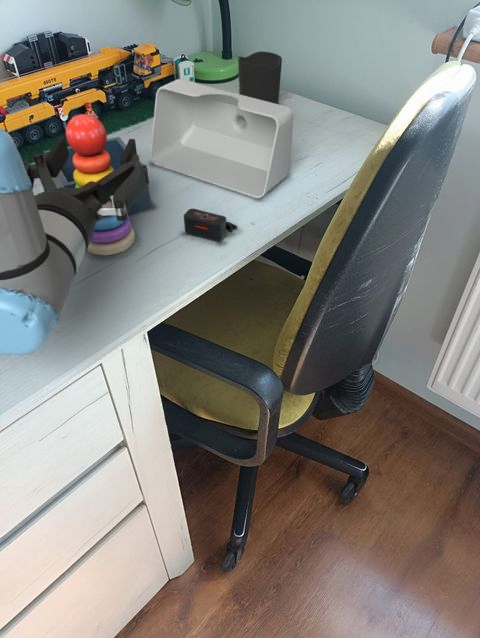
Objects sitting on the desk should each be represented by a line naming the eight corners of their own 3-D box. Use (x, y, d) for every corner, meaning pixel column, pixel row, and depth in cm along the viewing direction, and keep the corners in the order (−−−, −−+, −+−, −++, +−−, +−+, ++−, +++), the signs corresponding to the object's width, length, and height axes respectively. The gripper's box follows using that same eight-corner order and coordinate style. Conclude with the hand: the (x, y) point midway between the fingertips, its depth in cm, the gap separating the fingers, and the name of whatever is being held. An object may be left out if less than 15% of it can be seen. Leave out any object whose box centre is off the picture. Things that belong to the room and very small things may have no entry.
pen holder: (280, 115, 114) (282, 65, 107) (238, 114, 114) (237, 64, 107) (278, 99, 121) (281, 51, 114) (238, 98, 120) (238, 50, 113)
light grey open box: (306, 164, 98) (312, 95, 89) (263, 200, 88) (265, 127, 79) (199, 133, 106) (195, 67, 98) (149, 162, 97) (140, 92, 88)
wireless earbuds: (225, 245, 79) (224, 227, 76) (183, 234, 80) (181, 216, 78) (237, 230, 82) (237, 212, 79) (197, 220, 83) (196, 202, 81)
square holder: (54, 190, 89) (43, 151, 84) (126, 174, 93) (119, 136, 88) (74, 227, 81) (63, 185, 76) (151, 207, 86) (146, 167, 81)
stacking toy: (146, 244, 78) (126, 118, 65) (100, 264, 74) (68, 136, 61) (118, 222, 82) (93, 100, 69) (72, 241, 78) (37, 115, 65)
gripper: (-34, 262, 59) (29, 170, 75) (155, 267, 59) (178, 174, 75) (-62, 204, 54) (12, 117, 69) (146, 210, 54) (173, 122, 70)
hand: (99, 147), depth 72 cm, fingers open, 9 cm apart
